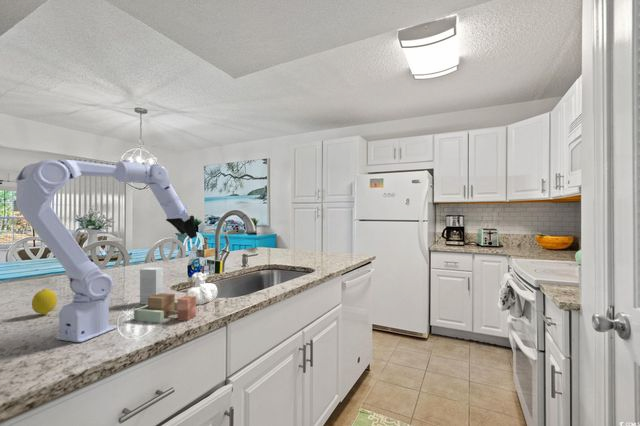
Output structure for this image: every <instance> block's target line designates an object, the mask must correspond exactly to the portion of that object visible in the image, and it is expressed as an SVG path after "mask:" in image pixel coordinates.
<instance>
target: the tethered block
mask: <svg viewBox="0 0 640 426" xmlns="http://www.w3.org/2000/svg"><path fill="white" fill-rule="evenodd" d="M175 295H176V294H175V293H165V292H163V293H160V294H157V295H154V296H151V297H148V304H147V305H148V309H149V310H160V311H164V319H166V318H167V317H170V316H172V315H175V314H177V320H178V321H187V322H188V321H190V320H192V319H195V318H196V317H197V305H196V296H186V295H184V296H181V297H178V298H177V300H176V299H175V298H176V297H175ZM175 301H177V311H175Z"/></svg>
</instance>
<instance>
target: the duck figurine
mask: <svg viewBox="0 0 640 426" xmlns="http://www.w3.org/2000/svg"><path fill="white" fill-rule="evenodd" d="M207 279H208V277H207V273H203V272H202V271H200V272H195V273H193V274H192V276H191V281H192V283H194V286H191V287H190V288H188V290H187V291H186V293H185V294H186V295H185V296H196V306H197V305H204V304H207V303H210V302H212V301H213V300H215V299H216V298H217V296H218V287H217V286H216V284H215V283H210V282H209V283H208V282H206V280H207Z"/></svg>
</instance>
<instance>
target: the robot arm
mask: <svg viewBox="0 0 640 426" xmlns="http://www.w3.org/2000/svg"><path fill="white" fill-rule="evenodd" d="M169 173H170V172H169V170H168V168H165V167H164V166H162V164H159V163H156V164H148V162H145V161H144V162H139V163H138V162H132V161H131V160H130V159H124V160H121V161H118V162H117V163H115V164H113V165H112V164H107V163H99V162H93V161H92V162H91V161H83V160H75V159H73V160H72V159H58V160H56V159H43V160H42V159H41V160H40V161H38V162H35V163H30V164H27V165H26V166H24V167H22V169H21V170H20V172H19V173H18V175H17V177H16V178H15V181H16V182H15V183H16V198H15V207H16V209H17V210H18V211H19V212H20V214H21V216H22V217H23V218H24V219H25V220H26V222H27V223H28V224H29V226H30V227H31V228H32V229H33V231H34V232H35V233H36V235H37V236H38V237H39V238H40V239H41V241H42V242H43V244H45V246H46V247H47V248H48V250H49V251H50V253H51V254H53V256H54V258H56V260H57V261H58V262H59V264H60V266H61V267H62V268H63V269H64V270H65V276H66V277H67V279H68V281H69V288H70V290H71V291H72V292H73V293H74V296H73V298H72V299H73V300H72V301H71V302H70V303H68V304H66V305H63V306H62V307H61V309H60V310H59V314H58V322H59V323H58V336H56V340H61V341H67V342H68V341H69V342H73V343H74V342H75V343H83V342H85V341H88V340H90V339H94V338H95V337H98V336H100V335H103V334H105V333H107V332H110V331H113V330H115V329H118V325H112V324H109V323H110V316H109V315H110V293H111V292H112V290H113V288H114V279H113V277H112V276H111V275H109V274H108V273H105V272H103V270H101V268H100V267H99V266H98V265H96V263H94V262H93V261H92V260H90V258H89V257H88V255H87V254H86V253H85V252H84V250H83V249H82V247H81V246H80V245H79V243H78V242H77V240H76V239H75V238H74V236H73V235H72V234H71V232H70V231H69V229H68V228H67V227H66V225H65V224H64V223H63V221H62V220H61V218H60V217H59V216H58V214H57V213H56V211H55V210H54V209H53V208H52V205H51V204H52V202H53V200H54V198H55V196H56V194H57V193H58V192H59V190H61V189H62V188H63V187H64V186H65V185H66V184H67V183H68V181H69V180H72V179H76V178H79V177H80V176H82V177H105V178H107V177H108V178H109V177H111V178H112V177H113V178H114V179H115V180H117V181H118V182H120V183H133V184H134V183H137V184H145V185H148V187H149V188H150V190H151V192H152V193H153V195H154V197H155V199H156V200H157V202H158V204H159V205H160V207H161V208H162V210H163V211H164V213H165V215H166V219H165V221H166V222H168V223H170V225H172V226H173V227H174V228H175V229H176V230H177V231H178V232H179V234H181V235H182V236H183V235H185V234H186V235H187V237H188V238H189V239H191V240H192V239H193V238H195V237H197V236H198V235H197V231H196V227H195V216H194V215H192V214H191V215H189V213H188V212H187V210H188V209H189V206H188V205H185V206H184V205H183V202H182V201H181V200H180V197H179V196H178V195H177V193H176V190H175V189H174V186H173V185H172V183H171V181H170V178H169V175H170V174H169Z"/></svg>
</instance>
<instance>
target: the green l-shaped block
mask: <svg viewBox="0 0 640 426" xmlns="http://www.w3.org/2000/svg"><path fill="white" fill-rule="evenodd" d="M175 311H177V300H175ZM133 320H134V321H138V322H148V323H156V324H159V323H160V324H162V323H163V322H165V318H164V311H160V310H149V309H148V304H145V305H144V306H141V307H138V308H135V309H134V310H133Z"/></svg>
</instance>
